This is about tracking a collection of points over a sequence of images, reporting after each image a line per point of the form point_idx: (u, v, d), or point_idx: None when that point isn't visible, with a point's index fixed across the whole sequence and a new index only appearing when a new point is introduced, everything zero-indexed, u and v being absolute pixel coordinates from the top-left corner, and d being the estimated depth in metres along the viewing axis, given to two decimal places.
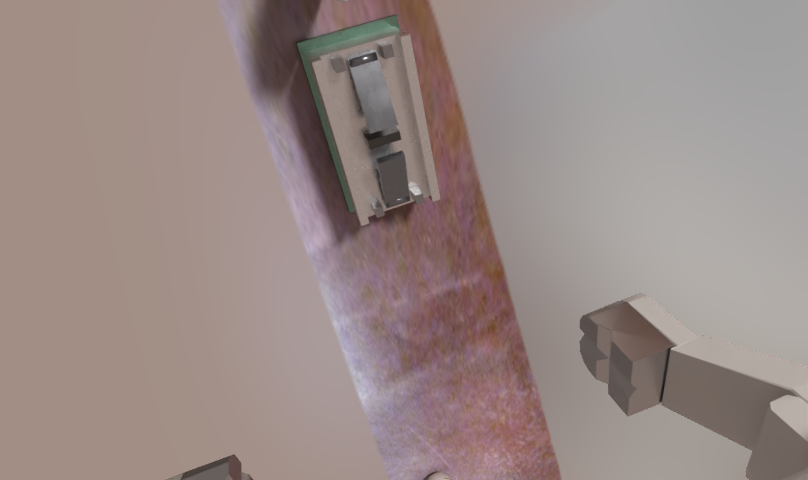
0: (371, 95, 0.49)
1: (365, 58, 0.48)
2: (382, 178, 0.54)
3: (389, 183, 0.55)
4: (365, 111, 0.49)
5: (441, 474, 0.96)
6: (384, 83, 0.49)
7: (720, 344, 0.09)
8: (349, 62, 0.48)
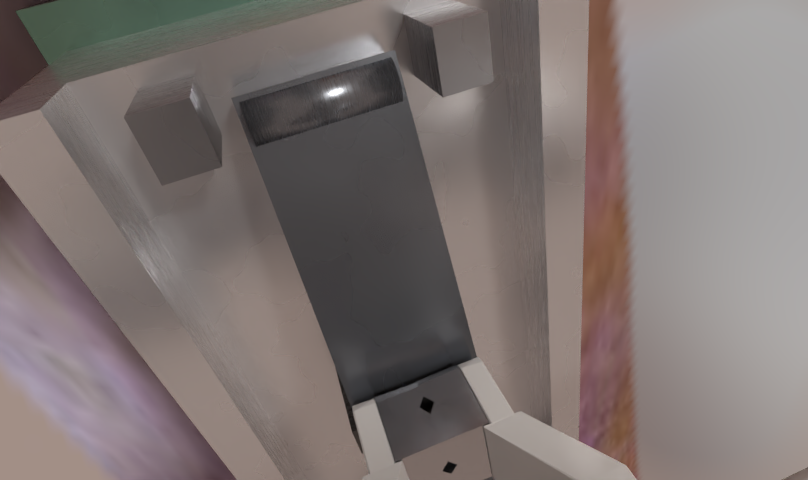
0: (365, 277, 0.10)
1: (332, 96, 0.09)
2: None
3: None
4: (337, 349, 0.10)
5: None
6: (431, 216, 0.10)
7: (532, 423, 0.09)
8: (244, 119, 0.08)
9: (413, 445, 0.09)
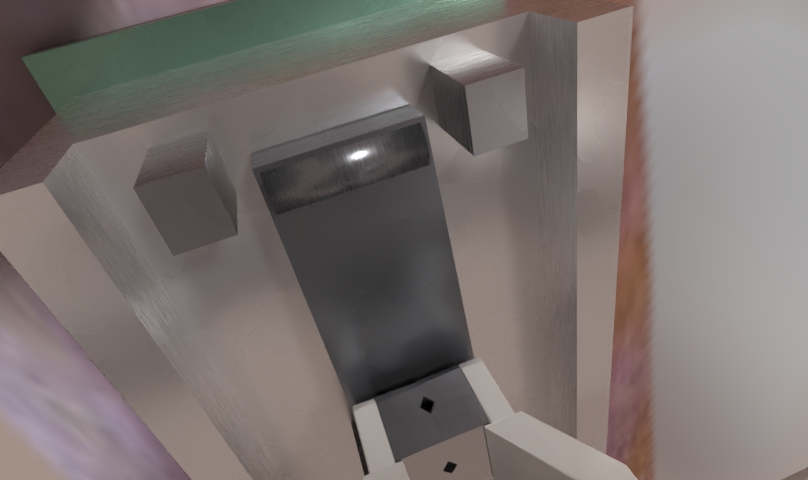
0: (382, 326, 0.10)
1: (359, 166, 0.08)
2: None
3: None
4: (350, 388, 0.11)
5: None
6: (448, 270, 0.10)
7: (533, 423, 0.09)
8: (265, 190, 0.08)
9: (413, 445, 0.09)
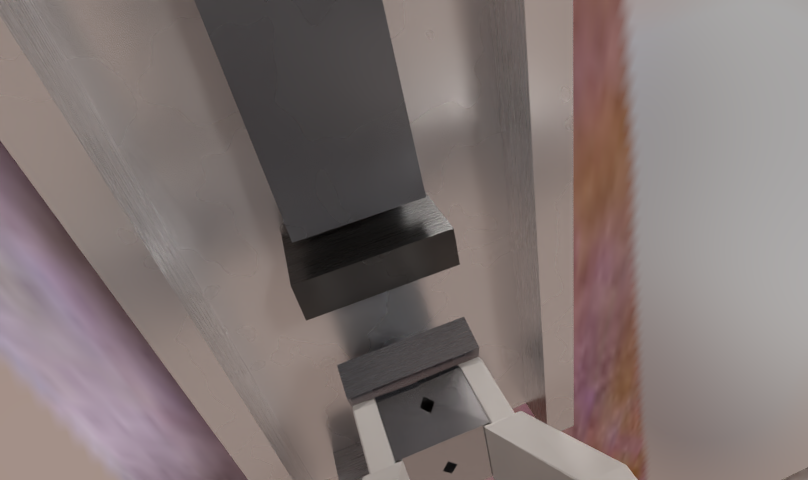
0: (291, 52, 0.09)
1: None
2: None
3: None
4: (260, 140, 0.09)
5: None
6: None
7: (532, 423, 0.09)
8: None
9: (413, 445, 0.09)
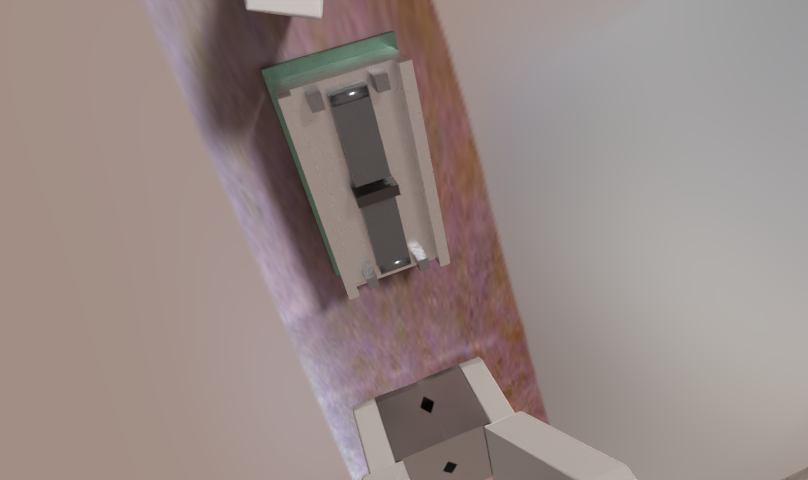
0: (358, 141, 0.38)
1: (352, 95, 0.36)
2: (369, 229, 0.42)
3: (381, 237, 0.43)
4: (350, 161, 0.38)
5: None
6: (376, 126, 0.37)
7: (532, 423, 0.09)
8: (330, 100, 0.36)
9: (414, 445, 0.09)
